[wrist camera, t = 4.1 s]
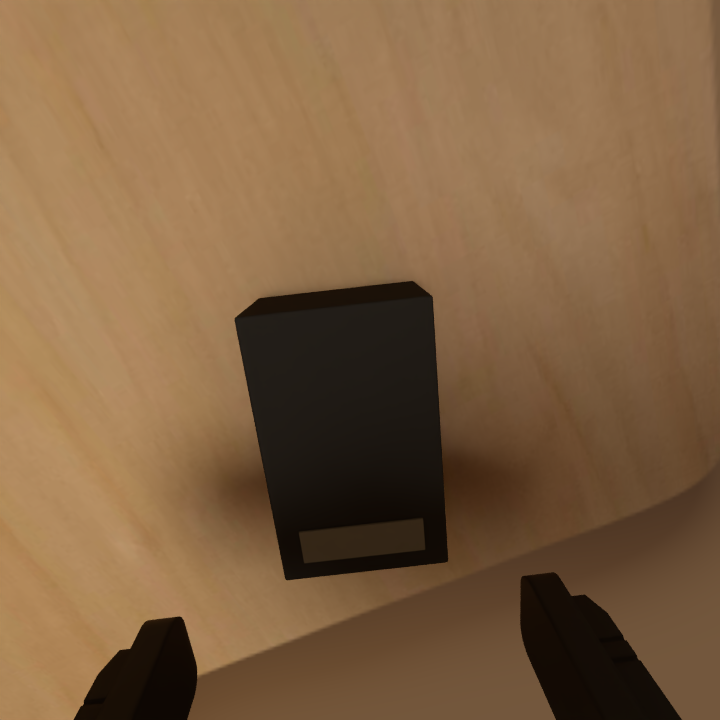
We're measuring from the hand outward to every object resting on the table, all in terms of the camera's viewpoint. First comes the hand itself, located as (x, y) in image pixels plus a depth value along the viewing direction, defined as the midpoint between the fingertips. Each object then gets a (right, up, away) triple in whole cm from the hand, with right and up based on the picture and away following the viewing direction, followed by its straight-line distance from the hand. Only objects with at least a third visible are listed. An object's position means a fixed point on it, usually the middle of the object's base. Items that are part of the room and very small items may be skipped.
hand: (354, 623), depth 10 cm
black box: (0, +4, +6) cm, 8 cm away
